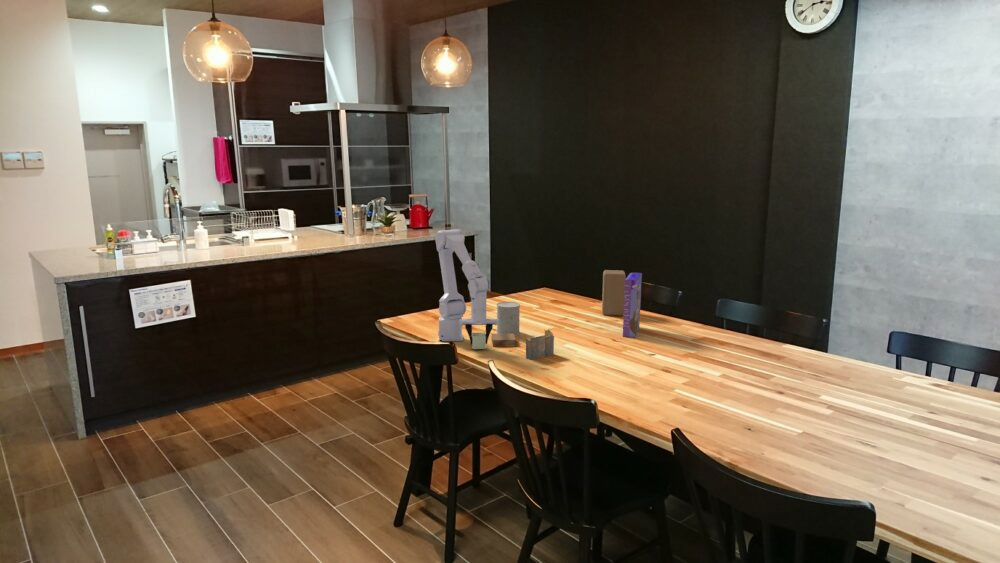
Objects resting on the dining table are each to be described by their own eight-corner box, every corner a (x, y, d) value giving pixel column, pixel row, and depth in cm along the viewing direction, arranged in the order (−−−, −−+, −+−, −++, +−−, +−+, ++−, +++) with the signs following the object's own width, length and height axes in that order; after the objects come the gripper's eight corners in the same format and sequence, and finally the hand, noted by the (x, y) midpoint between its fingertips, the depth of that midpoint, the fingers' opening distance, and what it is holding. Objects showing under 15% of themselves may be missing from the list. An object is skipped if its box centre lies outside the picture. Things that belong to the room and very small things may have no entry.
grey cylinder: (520, 330, 266) (521, 302, 264) (518, 336, 257) (518, 307, 255) (498, 329, 268) (498, 301, 265) (495, 335, 258) (495, 306, 256)
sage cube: (472, 349, 237) (472, 336, 236) (472, 345, 242) (472, 332, 241) (485, 348, 238) (485, 336, 237) (485, 344, 243) (485, 332, 242)
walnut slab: (492, 346, 244) (492, 340, 243) (491, 339, 253) (491, 333, 252) (515, 345, 244) (515, 339, 244) (513, 339, 253) (513, 333, 253)
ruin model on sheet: (548, 353, 237) (548, 328, 235) (553, 355, 234) (554, 330, 232) (525, 359, 230) (525, 333, 228) (530, 361, 227) (530, 335, 226)
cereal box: (634, 337, 256) (637, 280, 252) (622, 336, 258) (625, 279, 253) (639, 327, 272) (641, 272, 268) (628, 326, 274) (630, 272, 269)
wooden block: (601, 310, 302) (603, 269, 298) (623, 311, 300) (624, 270, 297) (602, 315, 292) (603, 273, 288) (624, 316, 291) (625, 273, 287)
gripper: (459, 311, 233) (459, 346, 235) (498, 311, 234) (498, 346, 236) (459, 306, 240) (459, 341, 242) (497, 306, 240) (497, 340, 243)
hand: (478, 343), depth 240 cm, fingers closed on sage cube, 5 cm apart
